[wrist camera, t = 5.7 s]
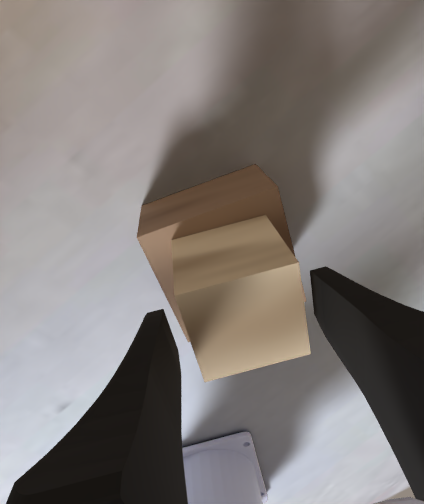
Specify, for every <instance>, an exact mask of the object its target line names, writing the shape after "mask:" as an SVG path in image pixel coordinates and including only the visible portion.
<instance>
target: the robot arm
mask: <svg viewBox="0 0 424 504" xmlns="http://www.w3.org/2000/svg"><path fill="white" fill-rule="evenodd" d="M310 277H311V286H312V296H313V306H314V314H315V316H316V318H317V321H318V323H319V325H320V327H321V329H322V331H323V333H324V335H325V337H326V338H327V340H328V341H329V343H330V344H331V346H332V347H333V349H334V350H335V352H336V353H337V355H338V356H339V358H340V359H341V361H342V362H343V364H344V365H345V367H346V368H347V370H348V371H349V373H350V374H351V376H352V377H353V379H354V380H355V382H356V383H357V385H358V386H359V388H360V390H361V391H362V393H363V395H364V396H365V398H366V400H367V402H368V404H369V405H370V407H371V409H372V411H373V413H374V415H375V417H376V419H377V420H378V422H379V424H380V426H381V428H382V430H383V432H384V434H385V436H386V438H387V440H388V442H389V444H390V446H391V448H392V450H393V452H394V454H395V456H396V458H397V460H398V462H399V464H400V466H401V468H402V470H403V472H404V474H405V476H406V479H407V481H408V483H409V485H410V487H411V489H412V491H413V493H414V495H415V498H416V499H414V498H411V497H406V498H398V499H389V500H385V501H382V502H378V503H374V504H424V312H422V311H419V310H416V309H414V308H411V307H408V306H405V305H403V304H400V303H398V302H396V301H393V300H391V299H389V298H386V297H384V296H382V295H380V294H378V293H376V292H373V291H371V290H369V289H367V288H365V287H363V286H361V285H360V284H358V283H356V282H354V281H352V280H350V279H348V278H346V277H345V276H343V275H341V274H339V273H337V272H335V271H334V270H332V269H330V268H328V267H322V268H318V269H315V270H311V271H310ZM267 501H268V496H267V492H266V488H265V485H264V481H263V477H262V474H261V470H260V466H259V462H258V459H257V455H256V451H255V448H254V444H253V440H252V437H251V434H250V433H249V432H241V433H237V434H233V435H229V436H225V437H222V438H218V439H214V440H210V441H207V442H203V443H199V444H195V445H191V446H188V447H184V448H182V437H181V369H180V361H179V354H178V348H177V346H176V343H175V340H174V337H173V335H172V332H171V329H170V326H169V324H168V321H167V318H166V315H165V313H164V310H163V309H161V310H157V311H153V312H149V313H147V314H146V316H145V317H144V320H143V322H142V324H141V326H140V328H139V330H138V332H137V334H136V336H135V338H134V340H133V342H132V344H131V346H130V348H129V350H128V352H127V354H126V356H125V357H124V359H123V361H122V362H121V364H120V366H119V367H118V369H117V371H116V372H115V374H114V376H113V377H112V379H111V380H110V382H109V383H108V385H107V386H106V388H105V389H104V390H103V392H102V393H101V395H100V396H99V397H98V399H97V400H96V401H95V402H94V404H93V405H92V406H91V407H90V408H89V409H88V411H87V412H86V413H85V414H84V415H83V417H82V418H81V419H80V420H79V421H78V422H77V424H76V425H75V426H74V427H73V428H72V429H71V430H70V431H69V432H68V433H67V434H66V435H65V436H64V437H63V438H62V439H61V440H60V441H59V442H58V443H57V444H56V445H55V446H54V447H53V448H52V449H51V450H50V451H49V452H48V453H47V454H46V455H45V456H44V457H43V458H42V459H41V460H39V461H38V462H37V463H36V464H35V465H34V466H33V467H32V468H30V469H29V470H28V471H27V472H26V473H25V474H24V475H23V476H22V477H20V478H19V479H18V480H17V481H16V482H15V483H14V485H13V488H12V490H11V493H10V495H9V497H8V500H7V503H6V504H263V503H265V502H267Z"/></svg>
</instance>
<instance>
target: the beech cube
mask: <svg viewBox="0 0 424 504" xmlns="http://www.w3.org/2000/svg"><path fill="white" fill-rule="evenodd" d="M171 243H172V262H173V280H174V296H175V299H176V302H177V305H178V308H179V310H180V313H181V316H182V319H183V322H184V325H185V328H186V330H187V333H188V336H189V339H190V342H191V345H192V347H193V350H194V353H195V356H196V359H197V362H198V364H199V367H200V370H201V373H202V376H203V379H204V382H208V381H212V380H216V379H219V378H223V377H227V376H231V375H234V374H238V373H242V372H245V371H249V370H253V369H257V368H260V367H264V366H268V365H272V364H275V363H279V362H283V361H287V360H290V359H294V358H298V357H301V356H305V355H309V354H311V352H310V344H309V337H308V329H307V321H306V314H305V306H304V299H303V291H302V283H301V276H300V268H299V262H298V261H297V259H296V258H295V256H294V255H293V253H292V252H291V251H290V249H289V248H288V246H287V245H286V243H285V242H284V241H283V239H282V238H281V236H280V235H279V233H278V232H277V230H276V229H275V228H274V226H273V225H272V223H271V222H270V220H269V219H268V218H267V216H266V215H263V216H259V217H256V218H252V219H248V220H245V221H241V222H237V223H233V224H230V225H226V226H222V227H218V228H215V229H211V230H207V231H203V232H200V233H196V234H192V235H188V236H185V237H181V238H177V239H174V240H171Z"/></svg>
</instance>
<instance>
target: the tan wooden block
mask: <svg viewBox="0 0 424 504" xmlns="http://www.w3.org/2000/svg"><path fill="white" fill-rule="evenodd" d="M263 215H266V216H267V218H268V219H269V220H270V222H271V223H272V225H273V226H274V228H275V229H276V230H277V232H278V233H279V235H280V236H281V238H282V239H283V241H284V242H285V243H286V245H287V246H288V248H289V249H290V251H291V252H292V253H293V255H294V256H295V254H294V250H293V246H292V242H291V238H290V234H289V230H288V226H287V222H286V218H285V214H284V210H283V206H282V202H281V198H280V194H279V190H278V186H277V185H276V184H275V183H274V182H273V181H272V180H271V179H270V178H269V177H268V176H267V175H266V174H265V173H264V172H263V171H262V170H261V169H260V168H259V167H258V166H257V165H256V164H254V165H251V166H248V167H246V168H243V169H240V170H238V171H235V172H232V173H229V174H227V175H224V176H221V177H218V178H216V179H213V180H210V181H208V182H205V183H202V184H199V185H197V186H194V187H191V188H188V189H186V190H183V191H180V192H178V193H175V194H172V195H169V196H167V197H164V198H161V199H158V200H156V201H153V202H150V203H148V204H145V205H142V207H141V213H140V220H139V226H138V233H137V239H138V241H139V243H140V245H141V247H142V249H143V251H144V253H145V255H146V257H147V259H148V261H149V263H150V265H151V267H152V269H153V271H154V273H155V276H156V278H157V280H158V282H159V284H160V286H161V288H162V290H163V292H164V294H165V296H166V298H167V300H168V302H169V304H170V306H171V308H172V310H173V312H174V314H175V316H176V318H177V320H178V322H179V324H180V326H181V328H182V330H183V332H184V334H185V337H186V339H187V341H188V342H190V339H189V336H188V333H187V330H186V328H185V325H184V322H183V319H182V316H181V313H180V310H179V308H178V305H177V302H176V299H175V296H174V280H173V262H172V243H171V240H174V239H177V238H181V237H185V236H188V235H192V234H196V233H200V232H203V231H207V230H211V229H215V228H218V227H222V226H226V225H230V224H233V223H237V222H241V221H245V220H248V219H252V218H256V217H259V216H263ZM301 283H302V282H301ZM302 291H303V299H304V302H306V298H305V294H304V290H303V286H302Z"/></svg>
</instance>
